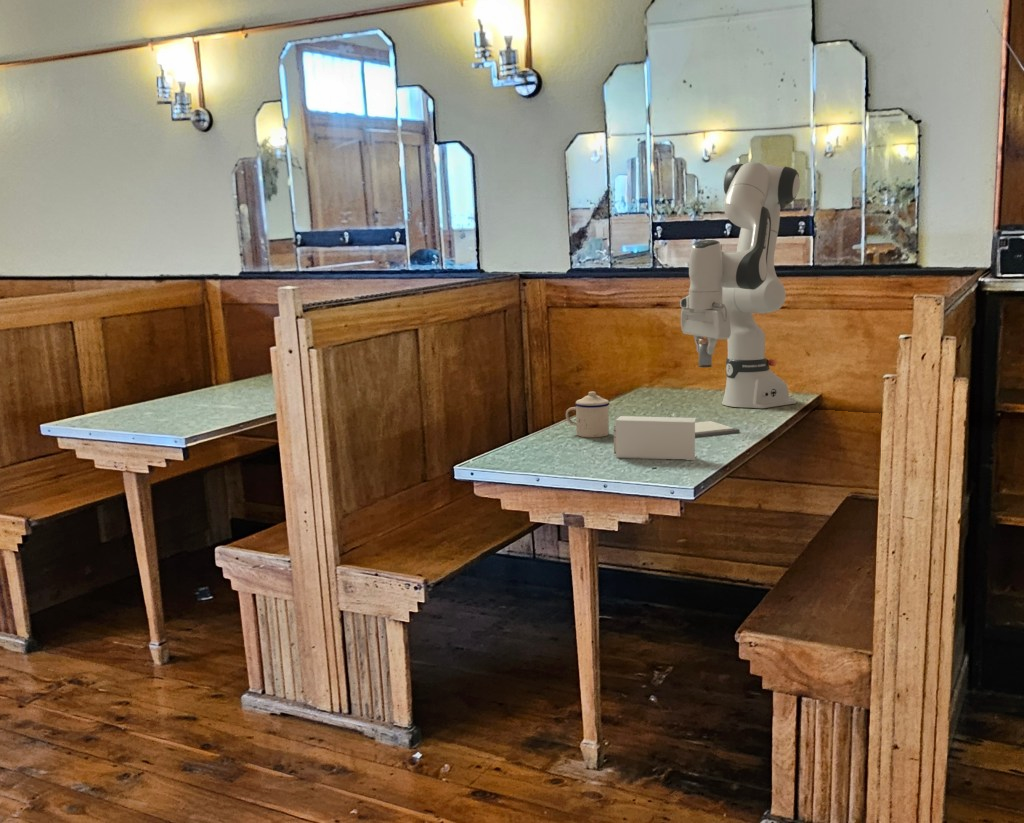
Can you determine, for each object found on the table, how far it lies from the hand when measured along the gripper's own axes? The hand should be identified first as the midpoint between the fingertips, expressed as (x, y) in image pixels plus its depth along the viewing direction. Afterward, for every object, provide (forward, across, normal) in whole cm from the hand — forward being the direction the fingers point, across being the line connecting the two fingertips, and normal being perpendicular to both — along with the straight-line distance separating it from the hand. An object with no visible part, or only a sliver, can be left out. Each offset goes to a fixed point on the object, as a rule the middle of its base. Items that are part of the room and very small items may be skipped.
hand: (705, 353), depth 283 cm
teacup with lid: (+21, +7, +32) cm, 39 cm away
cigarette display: (+21, -26, +29) cm, 44 cm away
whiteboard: (+20, -3, +8) cm, 22 cm away
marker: (+4, 0, 0) cm, 4 cm away
